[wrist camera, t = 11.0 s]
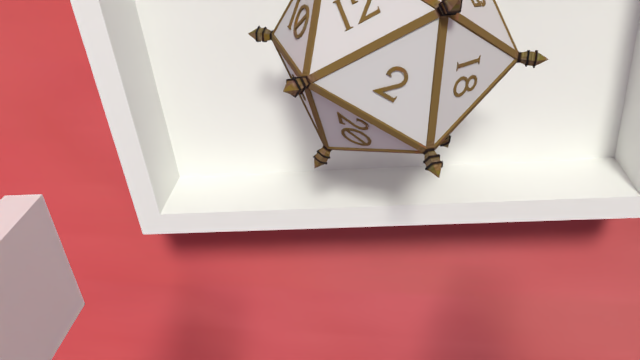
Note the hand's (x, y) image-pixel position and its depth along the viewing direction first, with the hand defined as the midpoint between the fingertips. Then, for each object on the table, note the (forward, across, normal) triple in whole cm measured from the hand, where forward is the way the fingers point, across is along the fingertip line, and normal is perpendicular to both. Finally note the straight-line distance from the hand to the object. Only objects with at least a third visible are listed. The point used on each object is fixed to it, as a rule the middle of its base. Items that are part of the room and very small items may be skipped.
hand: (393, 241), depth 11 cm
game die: (+14, 0, 0) cm, 14 cm away
